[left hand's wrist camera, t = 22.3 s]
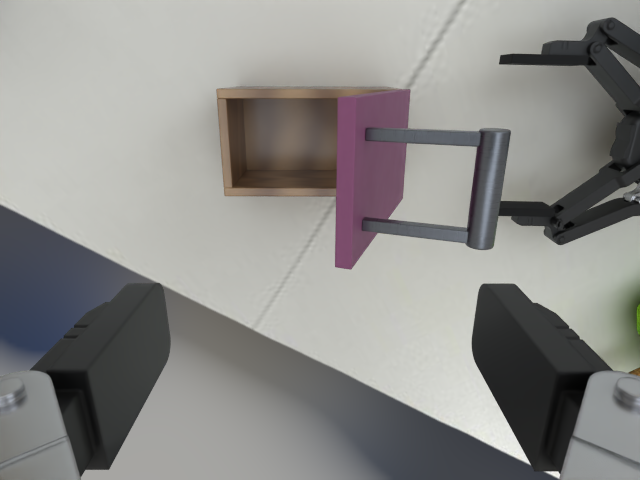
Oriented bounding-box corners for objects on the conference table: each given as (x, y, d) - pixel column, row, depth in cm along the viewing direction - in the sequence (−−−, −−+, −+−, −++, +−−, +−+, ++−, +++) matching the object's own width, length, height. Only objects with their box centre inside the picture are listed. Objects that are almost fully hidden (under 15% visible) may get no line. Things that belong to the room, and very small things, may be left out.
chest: (241, 175, 49) (224, 196, 40) (236, 86, 46) (216, 88, 37) (382, 175, 49) (396, 196, 40) (387, 87, 46) (403, 89, 37)
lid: (334, 267, 25) (489, 290, 23) (337, 97, 22) (518, 100, 19) (391, 197, 40) (489, 206, 37) (398, 89, 37) (506, 90, 34)
